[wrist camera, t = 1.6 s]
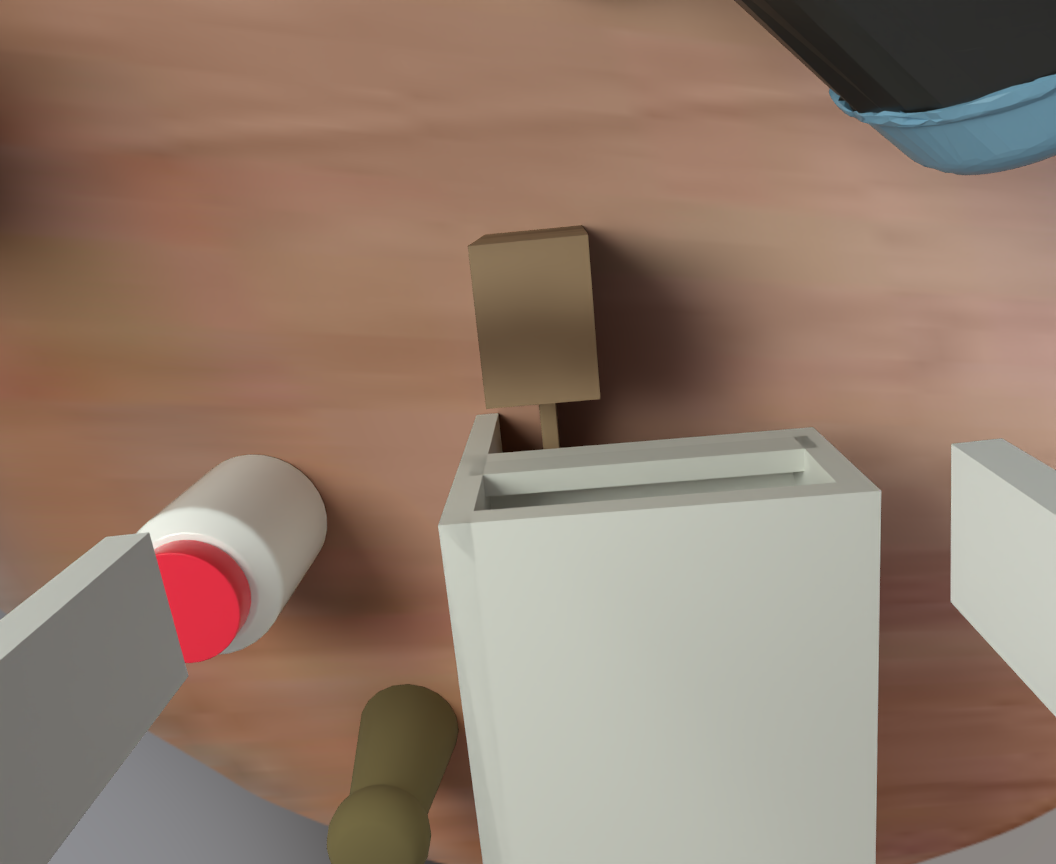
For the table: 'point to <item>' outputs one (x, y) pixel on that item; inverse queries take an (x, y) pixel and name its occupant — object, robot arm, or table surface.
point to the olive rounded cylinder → (394, 778)
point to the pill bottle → (236, 551)
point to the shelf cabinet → (667, 648)
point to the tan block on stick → (535, 321)
